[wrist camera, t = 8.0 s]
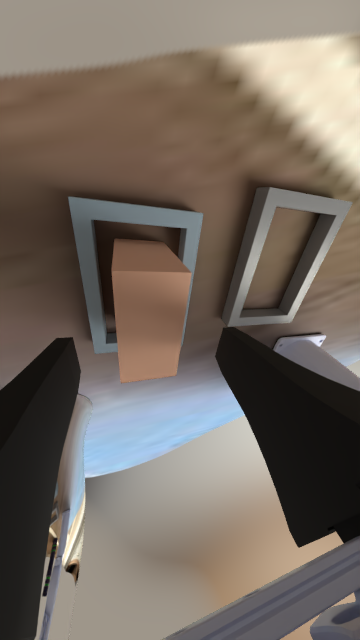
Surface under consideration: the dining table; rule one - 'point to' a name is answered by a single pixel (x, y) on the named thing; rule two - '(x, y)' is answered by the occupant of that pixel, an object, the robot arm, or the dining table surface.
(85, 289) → the grey picture frame
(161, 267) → the terracotta block
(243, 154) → the dining table surface
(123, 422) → the dining table surface
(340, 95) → the dining table surface
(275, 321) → the grey rectangular open frame
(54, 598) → the beer glass
